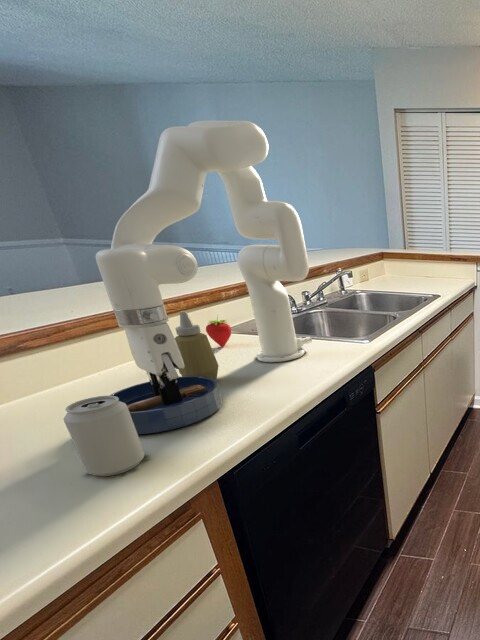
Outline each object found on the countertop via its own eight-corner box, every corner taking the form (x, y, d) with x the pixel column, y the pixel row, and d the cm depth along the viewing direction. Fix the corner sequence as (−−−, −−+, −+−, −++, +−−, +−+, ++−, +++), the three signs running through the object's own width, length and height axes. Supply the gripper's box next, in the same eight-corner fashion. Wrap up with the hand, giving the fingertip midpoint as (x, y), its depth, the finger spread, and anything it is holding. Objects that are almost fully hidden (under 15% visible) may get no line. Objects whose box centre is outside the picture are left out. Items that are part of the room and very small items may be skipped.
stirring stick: (199, 390, 94) (197, 381, 93) (207, 393, 93) (205, 384, 92) (125, 413, 83) (121, 403, 83) (132, 416, 82) (129, 407, 81)
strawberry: (221, 342, 137) (213, 312, 133) (240, 344, 135) (233, 314, 131) (205, 347, 132) (196, 316, 128) (224, 350, 130) (216, 318, 126)
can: (143, 449, 76) (121, 389, 72) (149, 466, 71) (125, 402, 67) (86, 465, 71) (58, 401, 67) (88, 485, 66) (58, 417, 62)
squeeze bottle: (185, 391, 100) (162, 317, 94) (181, 381, 106) (159, 310, 99) (224, 383, 105) (206, 312, 99) (219, 374, 111) (201, 306, 104)
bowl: (195, 389, 101) (189, 370, 100) (241, 407, 93) (235, 387, 91) (91, 421, 86) (82, 398, 84) (135, 446, 77) (125, 422, 75)
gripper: (185, 317, 81) (209, 404, 88) (145, 307, 88) (171, 388, 95) (137, 325, 75) (168, 418, 82) (99, 314, 82) (131, 400, 89)
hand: (170, 401), depth 88 cm, fingers closed on stirring stick, 2 cm apart
